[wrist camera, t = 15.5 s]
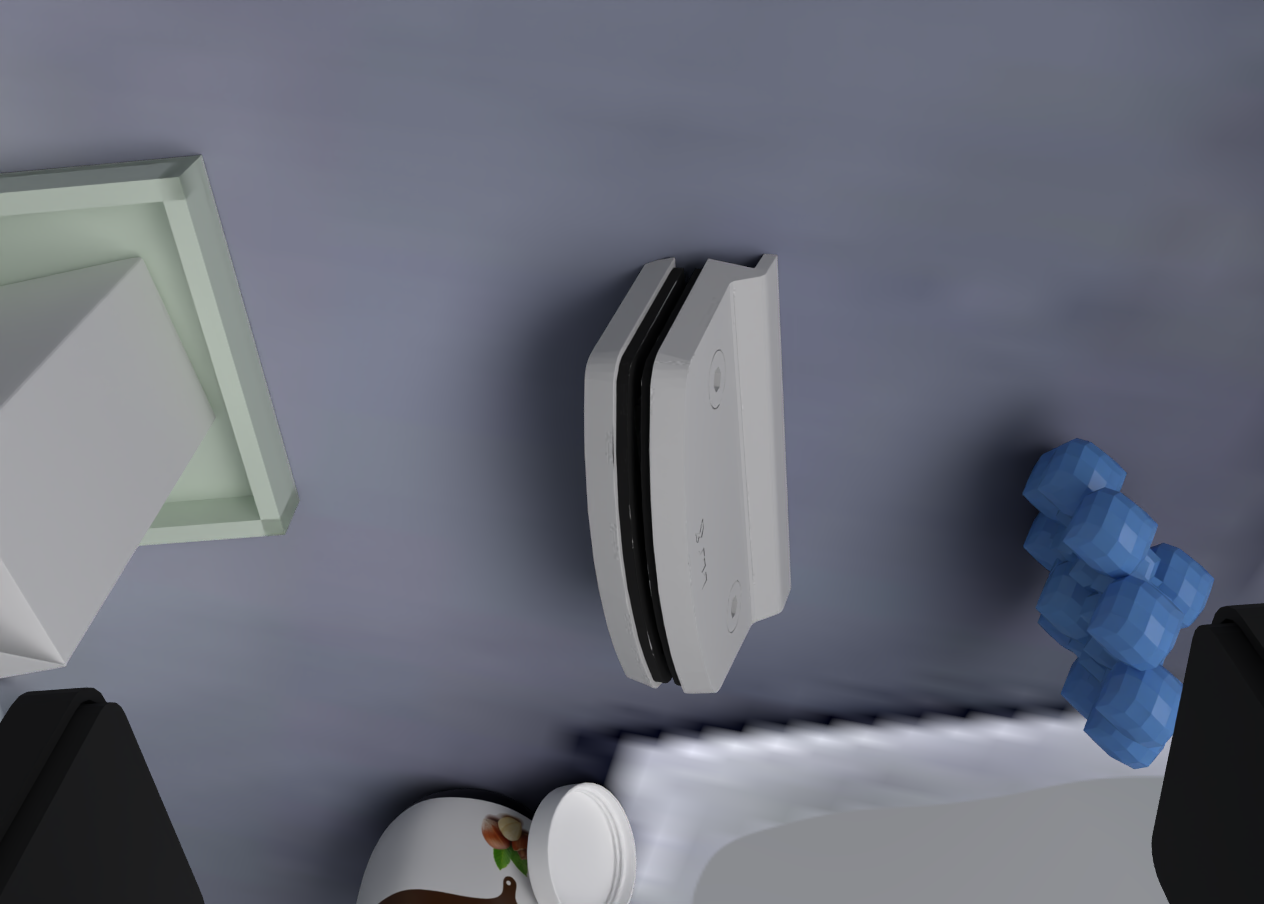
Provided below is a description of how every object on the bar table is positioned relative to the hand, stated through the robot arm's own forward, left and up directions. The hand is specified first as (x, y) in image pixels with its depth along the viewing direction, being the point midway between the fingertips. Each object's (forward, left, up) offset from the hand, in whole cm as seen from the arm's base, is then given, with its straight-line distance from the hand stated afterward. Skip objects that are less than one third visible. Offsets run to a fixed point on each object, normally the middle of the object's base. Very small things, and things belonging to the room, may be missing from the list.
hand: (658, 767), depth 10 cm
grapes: (+22, +17, -34) cm, 44 cm away
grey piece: (+17, +1, -35) cm, 39 cm away
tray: (+11, -22, -34) cm, 42 cm away
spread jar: (+39, -10, -35) cm, 53 cm away
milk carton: (+11, -22, -34) cm, 42 cm away
